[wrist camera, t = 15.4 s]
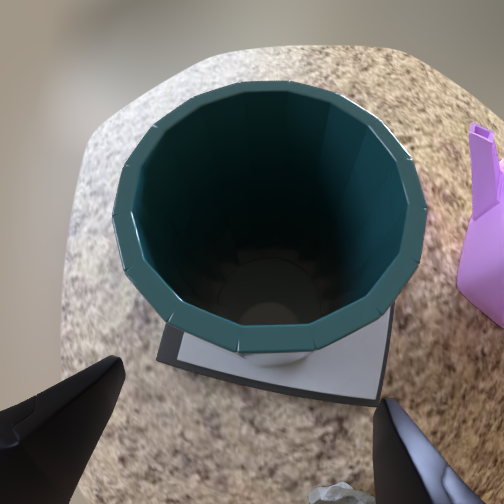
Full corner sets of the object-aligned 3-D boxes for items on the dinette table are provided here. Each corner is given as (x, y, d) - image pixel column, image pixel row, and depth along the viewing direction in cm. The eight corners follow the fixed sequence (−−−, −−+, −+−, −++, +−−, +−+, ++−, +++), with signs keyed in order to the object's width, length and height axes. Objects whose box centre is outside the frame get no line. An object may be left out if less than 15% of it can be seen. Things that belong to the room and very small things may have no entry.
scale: (165, 362, 20) (151, 360, 18) (236, 135, 27) (233, 114, 24) (368, 404, 18) (381, 408, 16) (391, 164, 25) (400, 146, 23)
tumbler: (270, 390, 17) (277, 434, 5) (188, 309, 19) (67, 196, 7) (349, 305, 18) (466, 185, 6) (267, 234, 20) (262, 54, 8)
